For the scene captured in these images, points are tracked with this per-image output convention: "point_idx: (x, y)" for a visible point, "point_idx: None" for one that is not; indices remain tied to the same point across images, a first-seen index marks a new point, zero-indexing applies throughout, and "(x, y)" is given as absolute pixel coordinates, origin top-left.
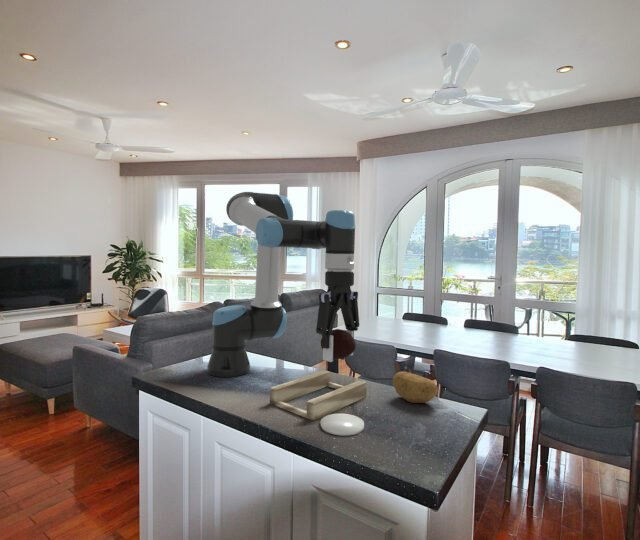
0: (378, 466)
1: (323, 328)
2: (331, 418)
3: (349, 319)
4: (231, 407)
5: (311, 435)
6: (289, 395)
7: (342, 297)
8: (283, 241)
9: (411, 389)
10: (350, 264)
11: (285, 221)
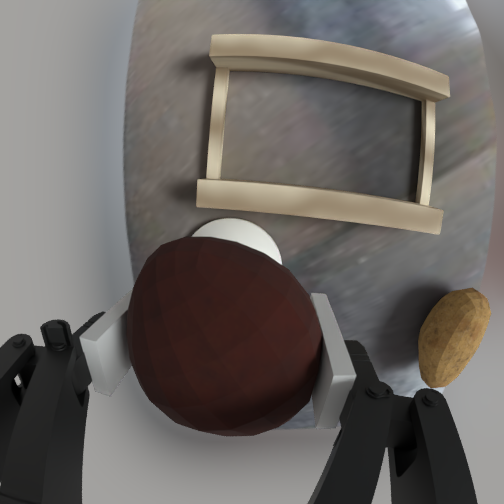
0: None
1: (18, 396)
2: (232, 237)
3: (312, 496)
4: (150, 23)
5: (153, 241)
6: (269, 67)
7: None
8: None
9: (423, 352)
10: None
11: None
